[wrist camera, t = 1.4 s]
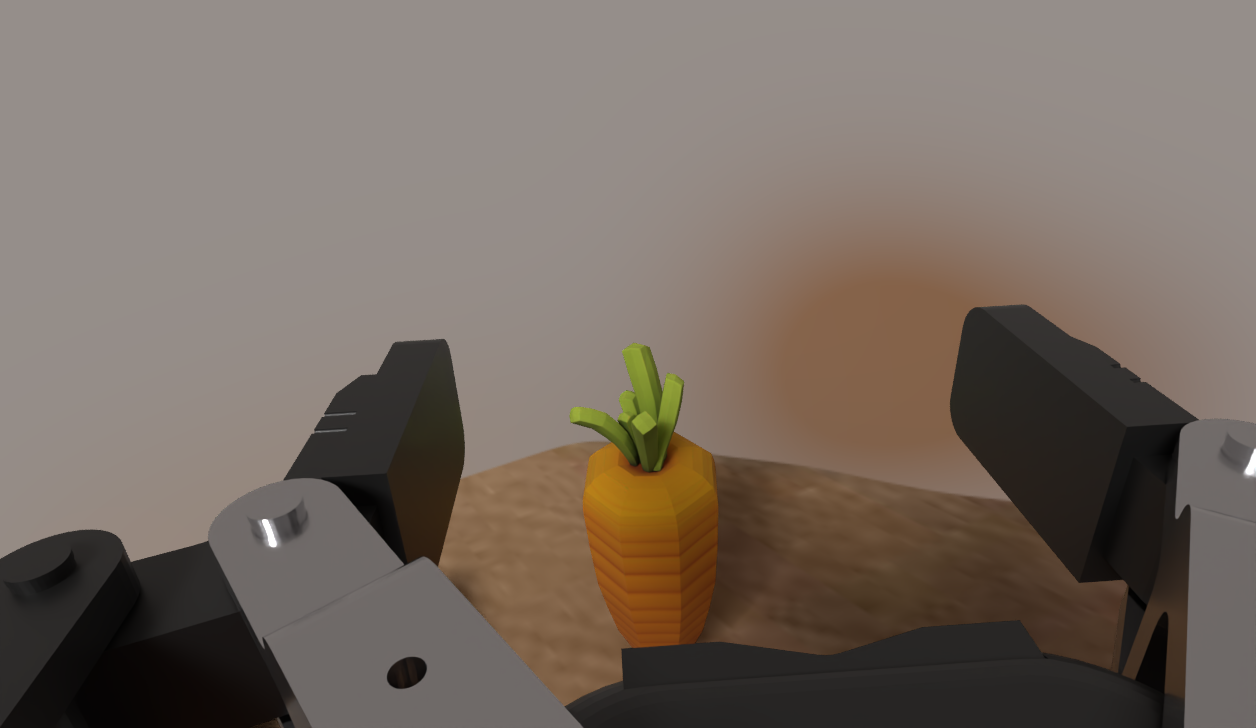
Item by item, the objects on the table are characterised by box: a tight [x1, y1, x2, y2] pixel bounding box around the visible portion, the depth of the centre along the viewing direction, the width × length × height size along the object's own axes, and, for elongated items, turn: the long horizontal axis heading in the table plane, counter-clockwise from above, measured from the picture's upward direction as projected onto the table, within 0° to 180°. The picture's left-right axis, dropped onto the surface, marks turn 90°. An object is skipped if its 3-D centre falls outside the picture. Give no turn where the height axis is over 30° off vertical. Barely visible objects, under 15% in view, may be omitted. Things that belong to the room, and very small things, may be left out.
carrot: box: [570, 343, 718, 648], centre depth 27 cm, size 5×5×15 cm
